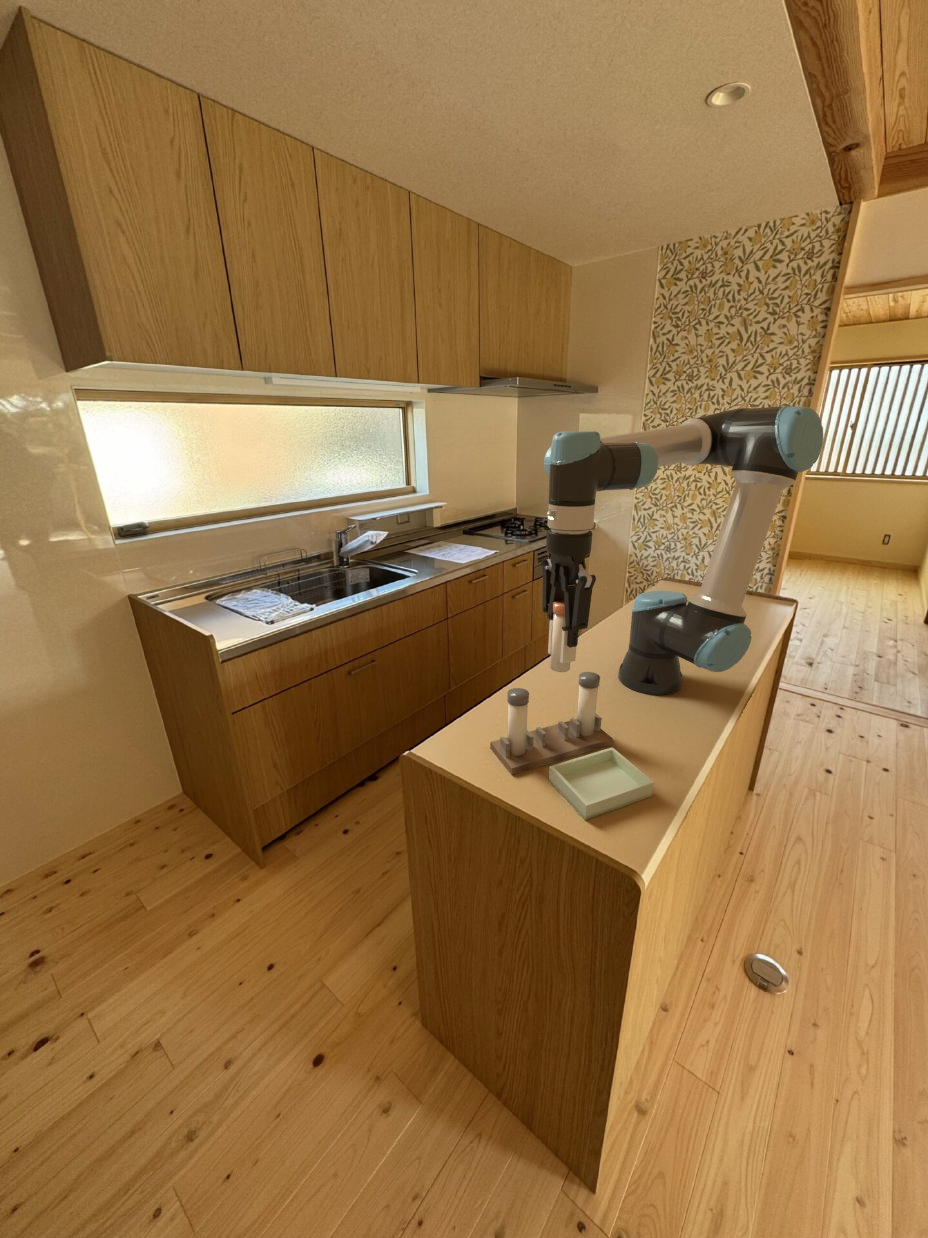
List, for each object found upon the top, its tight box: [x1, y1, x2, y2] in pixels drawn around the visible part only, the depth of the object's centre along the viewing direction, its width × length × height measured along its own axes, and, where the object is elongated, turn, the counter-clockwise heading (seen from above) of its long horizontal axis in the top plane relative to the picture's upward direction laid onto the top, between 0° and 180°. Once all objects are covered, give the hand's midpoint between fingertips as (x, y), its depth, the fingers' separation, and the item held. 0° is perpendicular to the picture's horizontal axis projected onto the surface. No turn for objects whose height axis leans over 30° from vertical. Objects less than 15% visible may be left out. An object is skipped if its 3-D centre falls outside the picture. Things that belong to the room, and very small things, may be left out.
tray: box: [548, 747, 655, 821], centre depth 88 cm, size 14×11×3 cm
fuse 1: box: [506, 687, 530, 756], centre depth 94 cm, size 4×4×13 cm
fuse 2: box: [576, 671, 601, 736], centre depth 100 cm, size 4×4×13 cm
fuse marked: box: [549, 600, 572, 673], centre depth 90 cm, size 4×4×13 cm
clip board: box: [489, 713, 614, 776], centre depth 99 cm, size 23×9×4 cm, turn 113°
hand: (561, 656), depth 91 cm, fingers closed on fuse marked, 3 cm apart
